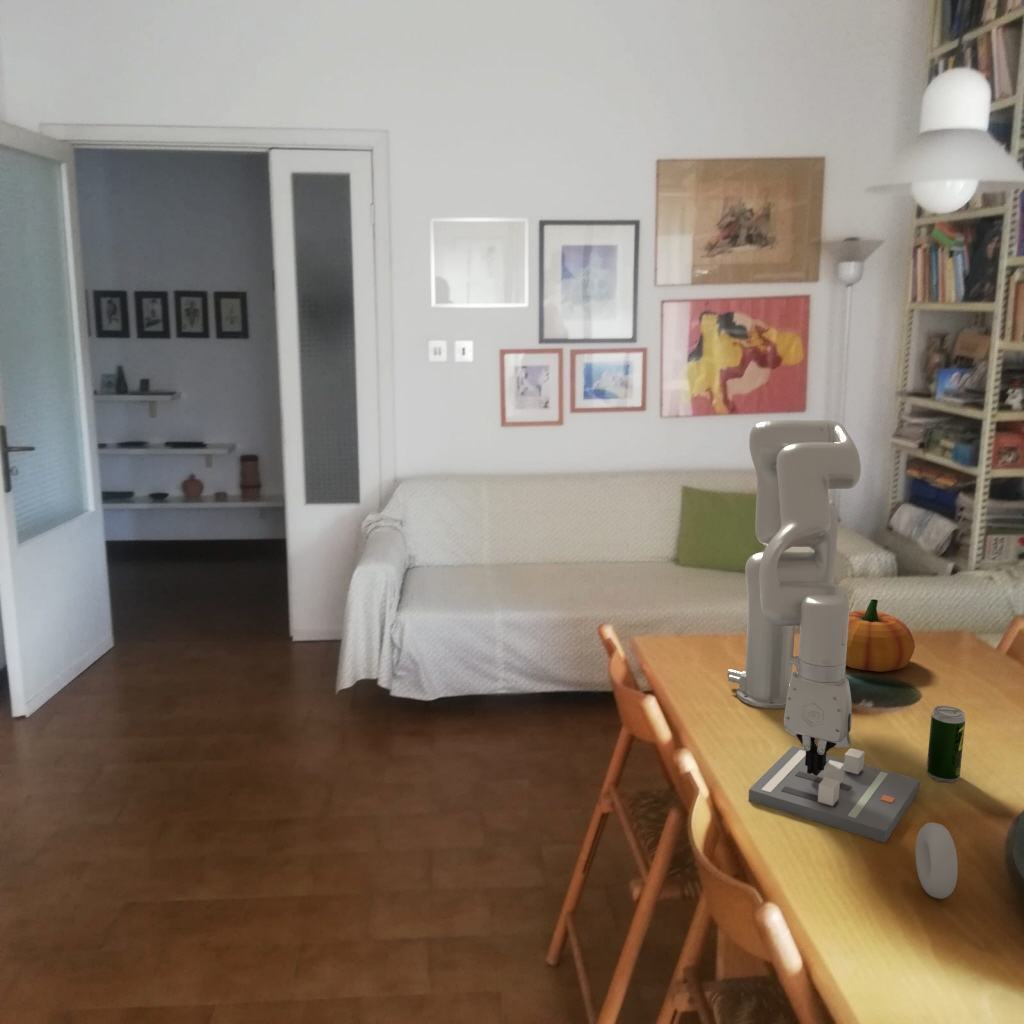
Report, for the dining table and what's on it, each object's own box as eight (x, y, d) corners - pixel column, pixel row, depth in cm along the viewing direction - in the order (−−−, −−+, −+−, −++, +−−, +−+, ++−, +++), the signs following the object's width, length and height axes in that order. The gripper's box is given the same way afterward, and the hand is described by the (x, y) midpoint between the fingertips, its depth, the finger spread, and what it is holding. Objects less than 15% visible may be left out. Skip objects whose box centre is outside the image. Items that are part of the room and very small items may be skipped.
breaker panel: (748, 800, 157) (749, 770, 156) (792, 755, 173) (793, 728, 172) (885, 842, 144) (887, 810, 143) (918, 790, 160) (921, 761, 159)
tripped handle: (822, 783, 158) (824, 766, 157) (828, 776, 160) (830, 759, 160) (837, 787, 157) (838, 770, 156) (843, 780, 159) (844, 763, 158)
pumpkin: (820, 671, 214) (824, 608, 211) (827, 644, 231) (830, 585, 228) (913, 683, 206) (918, 617, 203) (912, 654, 224) (917, 593, 221)
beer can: (927, 780, 164) (933, 715, 161) (924, 766, 169) (930, 703, 166) (961, 785, 162) (968, 719, 159) (957, 770, 167) (963, 707, 164)
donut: (957, 915, 127) (964, 848, 125) (931, 913, 127) (937, 846, 125) (934, 872, 137) (940, 809, 135) (909, 871, 137) (915, 808, 135)
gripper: (769, 666, 158) (764, 767, 162) (860, 686, 149) (852, 793, 153) (786, 653, 164) (780, 751, 167) (874, 672, 155) (866, 775, 159)
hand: (814, 771), depth 160 cm, fingers closed
